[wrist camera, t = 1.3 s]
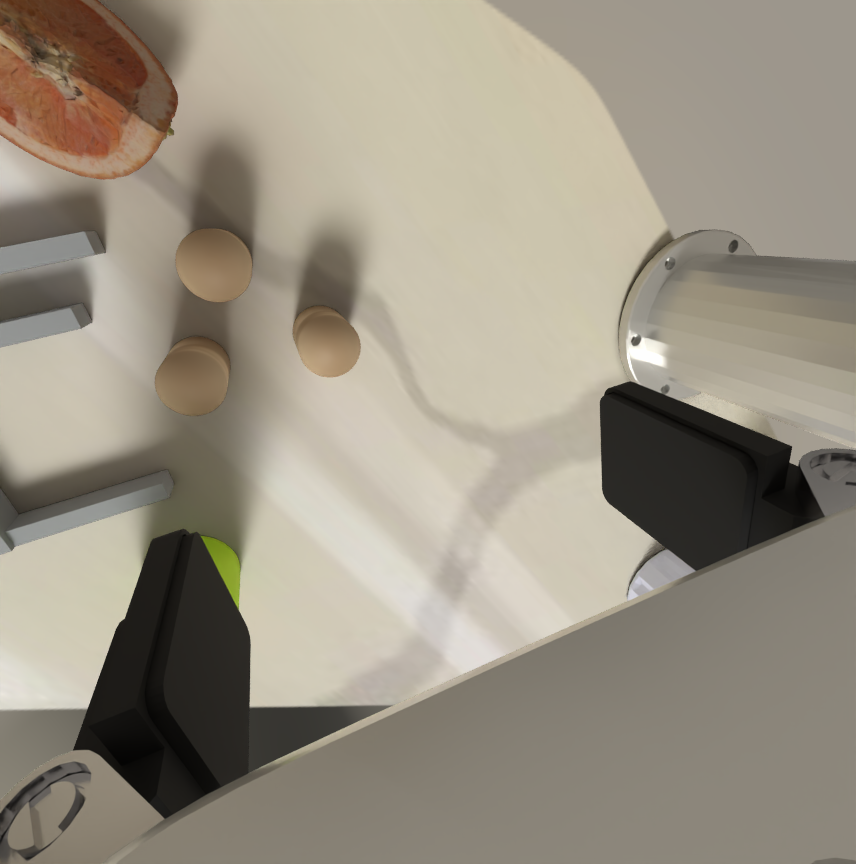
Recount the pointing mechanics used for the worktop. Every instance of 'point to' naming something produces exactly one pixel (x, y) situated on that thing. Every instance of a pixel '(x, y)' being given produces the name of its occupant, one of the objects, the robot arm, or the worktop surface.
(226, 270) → the cork
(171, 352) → the cork
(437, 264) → the worktop surface
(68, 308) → the corral
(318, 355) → the cork
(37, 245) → the corral
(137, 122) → the fruit slice
